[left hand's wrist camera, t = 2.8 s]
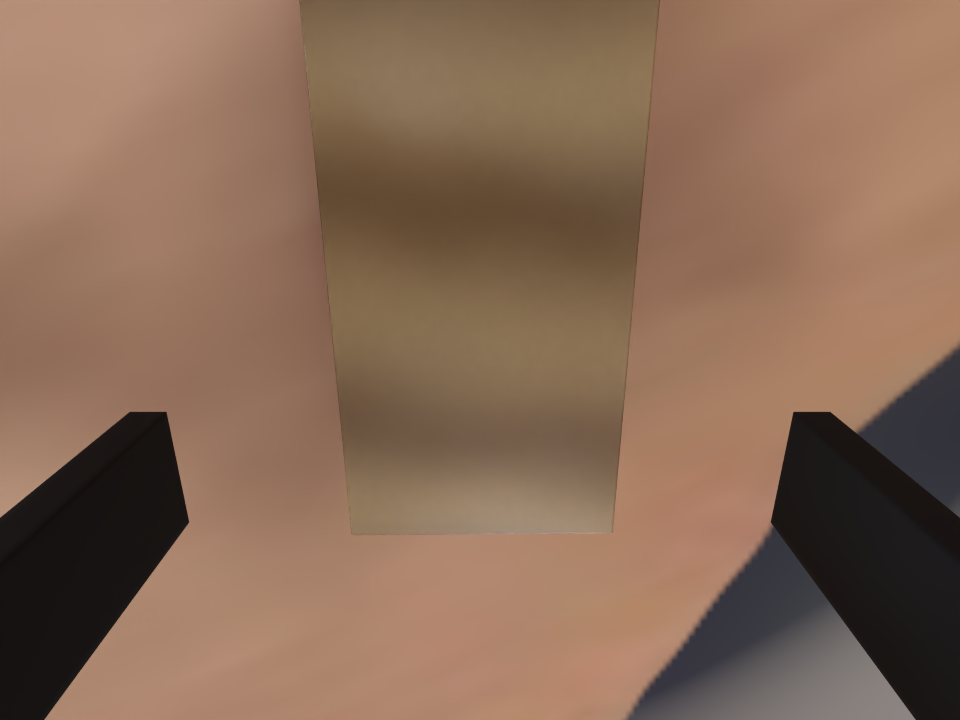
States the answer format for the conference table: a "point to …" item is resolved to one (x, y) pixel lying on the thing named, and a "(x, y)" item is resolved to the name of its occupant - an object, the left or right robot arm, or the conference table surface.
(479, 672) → the conference table surface
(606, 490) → the wide beam
